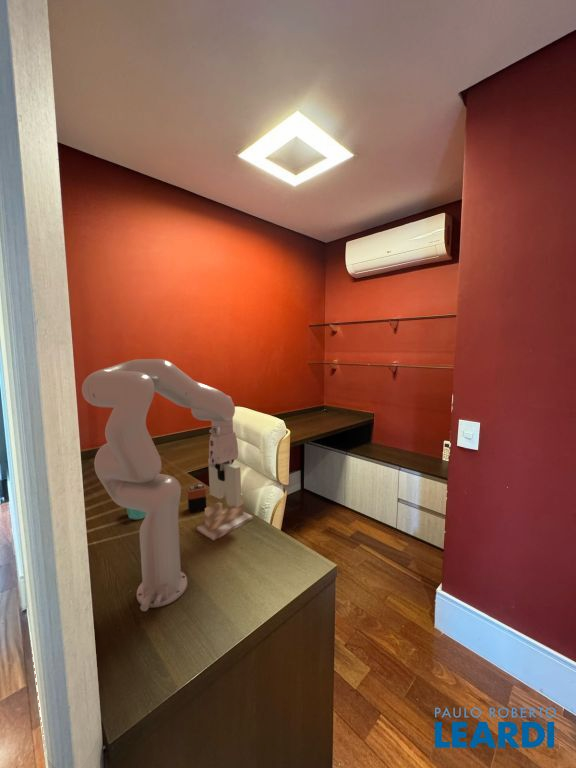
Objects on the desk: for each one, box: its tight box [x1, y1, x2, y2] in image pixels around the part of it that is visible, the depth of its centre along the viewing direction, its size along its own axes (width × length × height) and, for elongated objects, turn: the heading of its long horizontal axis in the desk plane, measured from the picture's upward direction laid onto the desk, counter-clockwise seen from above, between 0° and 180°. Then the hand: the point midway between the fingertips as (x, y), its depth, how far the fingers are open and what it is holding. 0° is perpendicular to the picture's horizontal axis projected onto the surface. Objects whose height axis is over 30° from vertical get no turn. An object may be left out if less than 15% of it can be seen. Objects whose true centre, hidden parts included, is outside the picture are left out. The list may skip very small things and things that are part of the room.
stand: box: [196, 492, 254, 541], centre depth 115 cm, size 18×10×9 cm, turn 140°
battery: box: [186, 483, 207, 514], centre depth 126 cm, size 4×7×10 cm, turn 113°
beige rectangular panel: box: [207, 458, 242, 507], centre depth 114 cm, size 2×16×14 cm, turn 49°
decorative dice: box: [125, 508, 146, 521], centre depth 123 cm, size 8×8×8 cm
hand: (224, 478), depth 113 cm, fingers closed on beige rectangular panel, 2 cm apart
